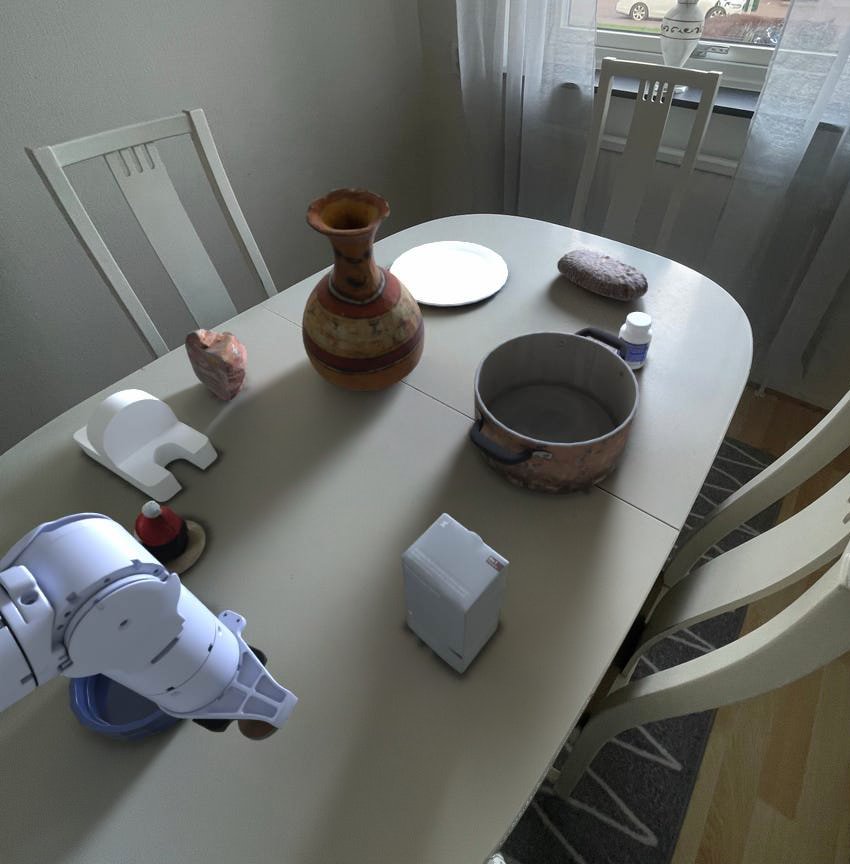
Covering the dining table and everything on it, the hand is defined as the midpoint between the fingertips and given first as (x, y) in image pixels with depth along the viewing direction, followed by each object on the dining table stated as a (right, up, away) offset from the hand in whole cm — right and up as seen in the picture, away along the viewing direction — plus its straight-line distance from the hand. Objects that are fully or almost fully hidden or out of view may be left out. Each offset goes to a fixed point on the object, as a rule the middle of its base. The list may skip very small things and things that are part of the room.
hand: (243, 699), depth 44 cm
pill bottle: (+46, +31, +47) cm, 72 cm away
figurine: (-19, +6, +21) cm, 29 cm away
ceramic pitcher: (+1, +30, +46) cm, 56 cm away
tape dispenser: (-28, +16, +32) cm, 46 cm away
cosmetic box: (+17, -1, +14) cm, 23 cm away
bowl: (-14, -3, +11) cm, 18 cm away
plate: (+13, +50, +66) cm, 84 cm away
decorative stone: (+45, +47, +64) cm, 91 cm away
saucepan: (+30, +19, +35) cm, 50 cm away
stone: (-21, +27, +43) cm, 55 cm away
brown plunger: (0, -4, +4) cm, 5 cm away
